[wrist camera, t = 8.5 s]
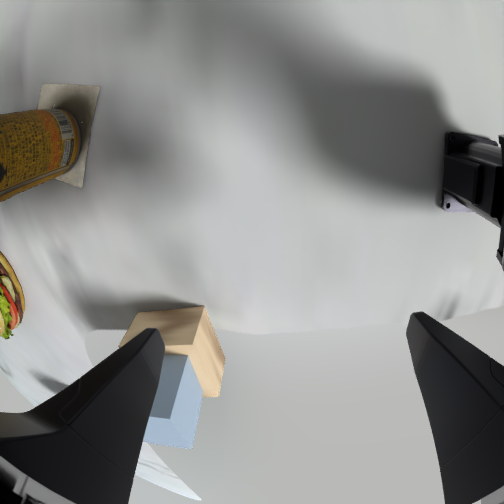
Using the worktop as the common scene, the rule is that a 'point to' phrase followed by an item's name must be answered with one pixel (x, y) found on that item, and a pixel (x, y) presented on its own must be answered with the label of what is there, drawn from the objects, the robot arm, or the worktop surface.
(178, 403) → the blue block
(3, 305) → the food
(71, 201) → the worktop surface
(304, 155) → the worktop surface
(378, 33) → the worktop surface
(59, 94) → the condiment
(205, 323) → the tan block
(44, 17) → the worktop surface
